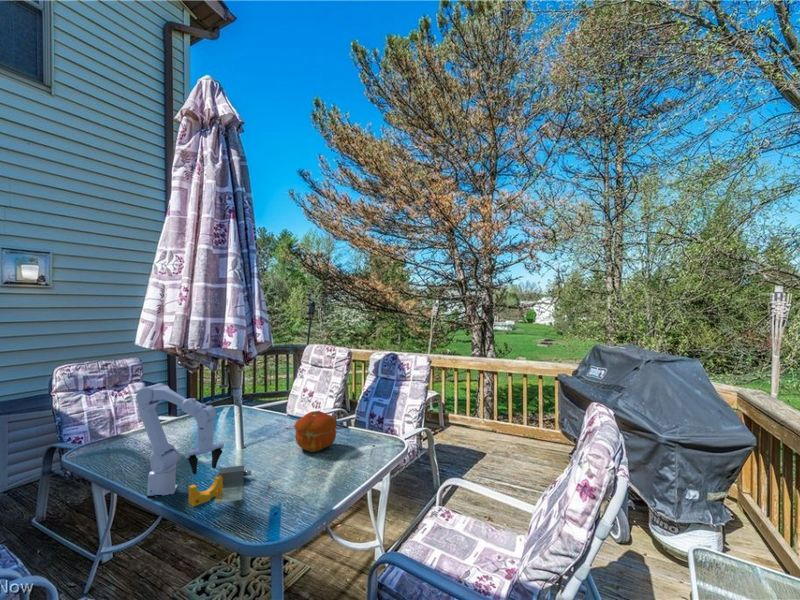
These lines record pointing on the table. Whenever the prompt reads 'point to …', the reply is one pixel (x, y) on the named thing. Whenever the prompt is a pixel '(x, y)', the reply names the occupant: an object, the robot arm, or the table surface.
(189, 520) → the table surface
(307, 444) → the pumpkin
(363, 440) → the table surface
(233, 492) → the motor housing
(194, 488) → the pipe clamp
